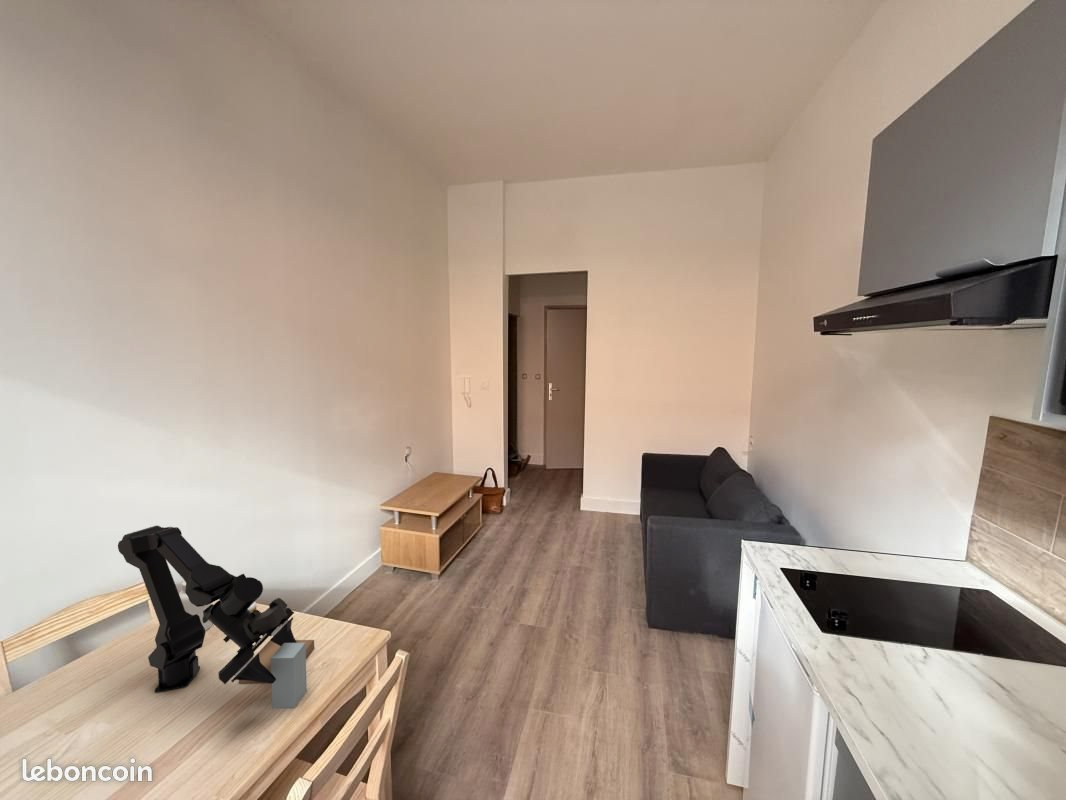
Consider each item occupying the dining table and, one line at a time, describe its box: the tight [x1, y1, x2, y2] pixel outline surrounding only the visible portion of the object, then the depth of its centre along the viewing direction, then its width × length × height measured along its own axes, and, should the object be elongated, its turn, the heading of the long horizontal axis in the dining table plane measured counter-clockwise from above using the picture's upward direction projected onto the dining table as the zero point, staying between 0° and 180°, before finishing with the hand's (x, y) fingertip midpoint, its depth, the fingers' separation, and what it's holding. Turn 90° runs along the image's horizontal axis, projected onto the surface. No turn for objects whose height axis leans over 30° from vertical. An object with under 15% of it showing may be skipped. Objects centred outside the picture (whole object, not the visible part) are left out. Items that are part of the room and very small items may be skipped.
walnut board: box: [238, 639, 315, 684], centre depth 102 cm, size 12×12×2 cm
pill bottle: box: [178, 580, 214, 632], centre depth 115 cm, size 8×8×15 cm
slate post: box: [271, 643, 308, 709], centre depth 91 cm, size 5×5×12 cm
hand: (286, 666), depth 91 cm, fingers open, 9 cm apart
